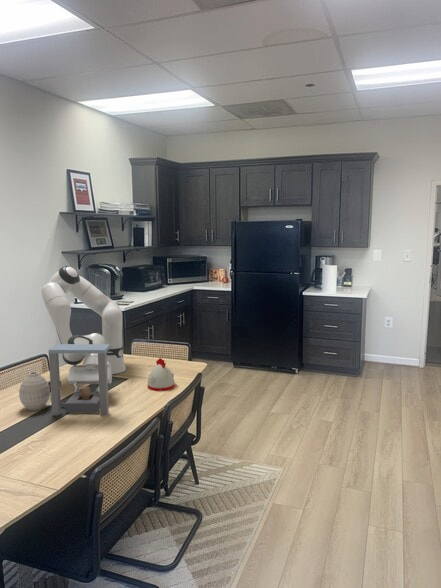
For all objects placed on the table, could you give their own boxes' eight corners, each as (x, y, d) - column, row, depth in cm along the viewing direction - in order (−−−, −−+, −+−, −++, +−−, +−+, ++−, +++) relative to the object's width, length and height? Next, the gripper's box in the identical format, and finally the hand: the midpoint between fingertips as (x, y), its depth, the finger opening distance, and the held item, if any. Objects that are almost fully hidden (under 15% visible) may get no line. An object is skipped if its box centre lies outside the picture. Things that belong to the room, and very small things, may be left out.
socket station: (65, 400, 206) (62, 340, 201) (115, 400, 206) (113, 340, 201) (52, 415, 189) (48, 349, 185) (107, 415, 189) (104, 350, 185)
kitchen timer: (156, 393, 216) (155, 364, 213) (142, 385, 226) (142, 357, 224) (179, 387, 224) (179, 359, 222) (165, 379, 235) (164, 353, 233)
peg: (80, 406, 199) (79, 388, 197) (87, 404, 201) (87, 385, 200) (84, 409, 196) (83, 390, 194) (92, 406, 199) (91, 388, 197)
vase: (21, 404, 200) (18, 370, 198) (50, 401, 205) (49, 367, 202) (19, 415, 189) (16, 379, 186) (50, 411, 193) (48, 375, 191)
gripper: (68, 362, 204) (62, 389, 196) (112, 361, 205) (107, 389, 196) (72, 368, 209) (66, 395, 201) (114, 368, 210) (110, 394, 201)
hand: (87, 392), depth 199 cm, fingers open, 8 cm apart
